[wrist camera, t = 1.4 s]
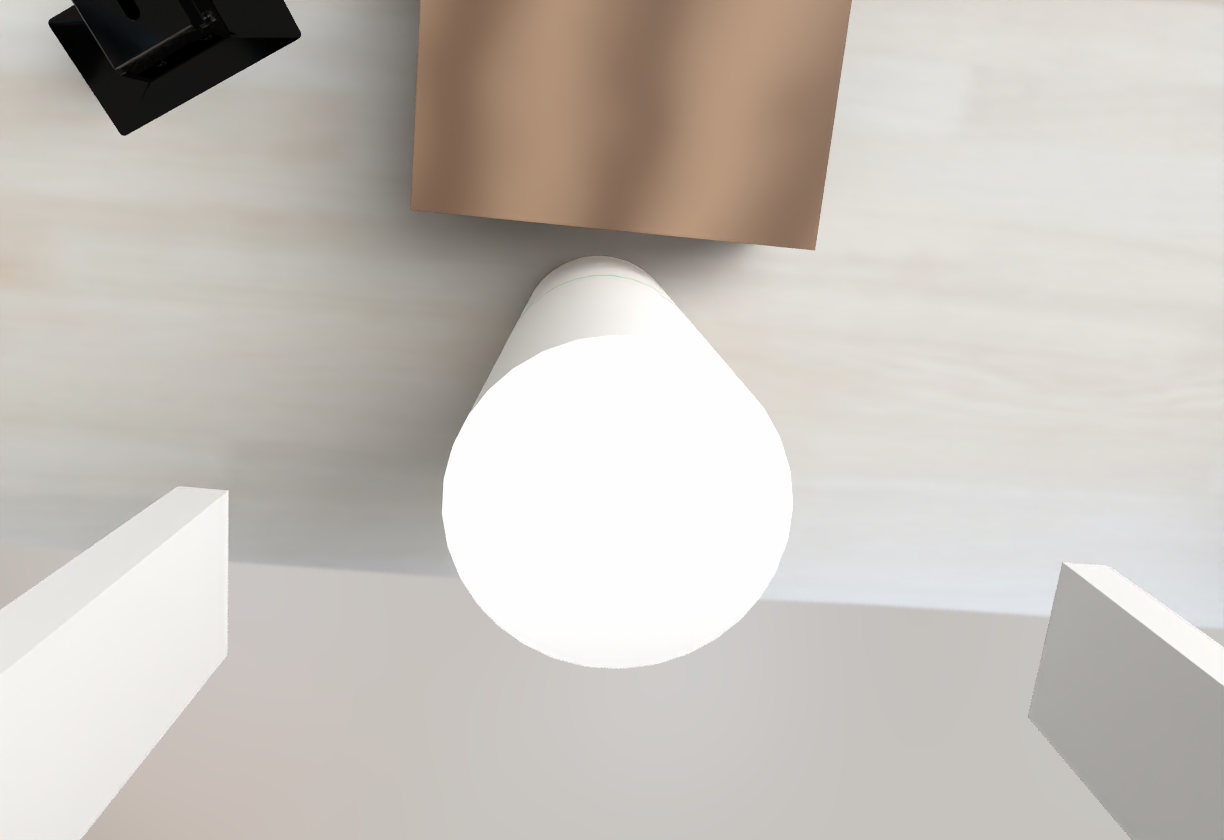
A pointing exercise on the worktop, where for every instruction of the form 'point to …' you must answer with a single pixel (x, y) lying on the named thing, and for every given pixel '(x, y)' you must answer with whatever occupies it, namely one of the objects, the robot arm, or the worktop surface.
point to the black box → (166, 49)
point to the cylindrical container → (614, 478)
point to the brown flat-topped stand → (630, 114)
